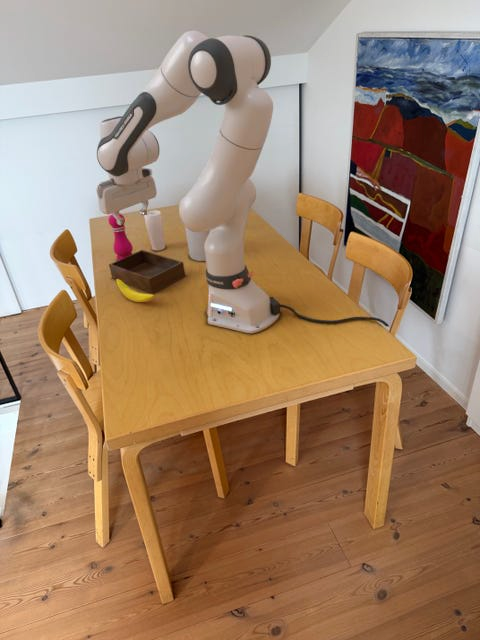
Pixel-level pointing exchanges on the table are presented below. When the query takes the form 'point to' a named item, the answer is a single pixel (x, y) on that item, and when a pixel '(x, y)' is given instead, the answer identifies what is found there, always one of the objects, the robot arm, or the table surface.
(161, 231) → the drinking glass
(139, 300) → the banana
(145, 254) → the tray
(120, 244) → the pepper mill
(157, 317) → the table surface
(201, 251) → the utensil holder
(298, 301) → the table surface
